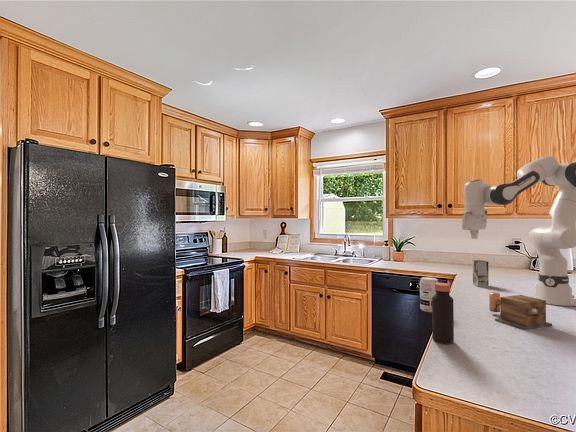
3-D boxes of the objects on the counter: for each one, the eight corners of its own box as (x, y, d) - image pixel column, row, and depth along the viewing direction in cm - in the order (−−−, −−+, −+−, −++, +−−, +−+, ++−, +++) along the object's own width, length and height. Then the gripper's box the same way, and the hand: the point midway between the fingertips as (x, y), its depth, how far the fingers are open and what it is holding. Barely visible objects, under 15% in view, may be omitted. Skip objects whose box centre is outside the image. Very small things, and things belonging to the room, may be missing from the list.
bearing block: (522, 316, 138) (521, 294, 138) (552, 325, 127) (552, 300, 127) (494, 320, 133) (494, 296, 133) (523, 329, 122) (523, 304, 122)
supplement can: (437, 308, 151) (437, 277, 151) (440, 313, 143) (439, 280, 143) (419, 307, 153) (419, 276, 154) (420, 312, 146) (420, 279, 146)
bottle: (450, 346, 106) (450, 287, 107) (429, 341, 111) (429, 284, 111) (456, 340, 111) (455, 283, 112) (435, 335, 116) (435, 281, 116)
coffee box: (489, 287, 198) (488, 261, 198) (477, 287, 199) (477, 261, 199) (483, 284, 207) (483, 259, 207) (472, 284, 208) (472, 259, 208)
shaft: (493, 309, 144) (493, 291, 145) (539, 322, 126) (538, 302, 126) (487, 310, 143) (487, 292, 143) (531, 323, 125) (531, 303, 125)
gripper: (472, 211, 152) (472, 239, 152) (488, 211, 164) (489, 238, 164) (458, 211, 157) (458, 239, 157) (475, 212, 169) (476, 237, 169)
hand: (474, 238), depth 161 cm, fingers closed
